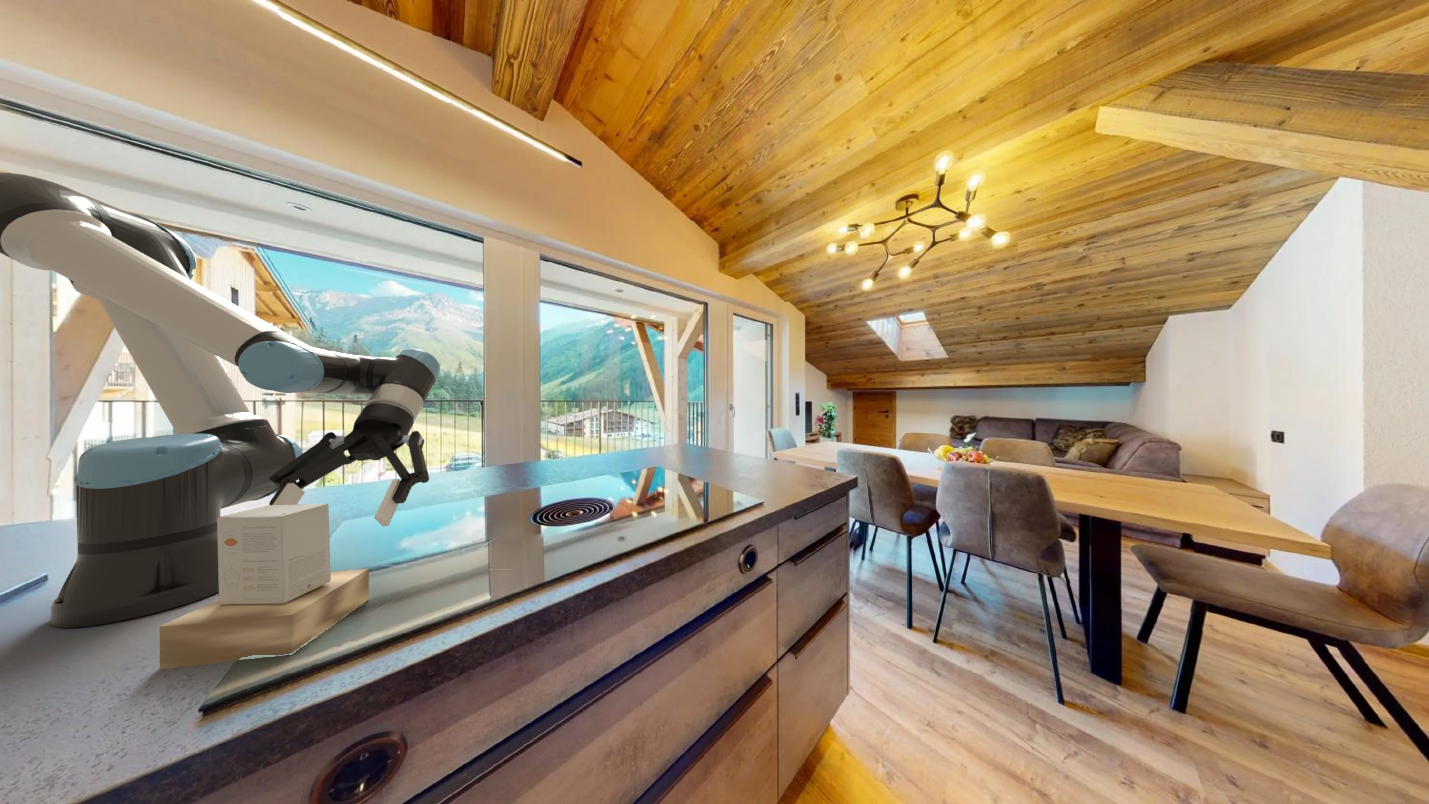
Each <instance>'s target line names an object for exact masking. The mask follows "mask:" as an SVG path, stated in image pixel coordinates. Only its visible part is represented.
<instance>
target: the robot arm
mask: <svg viewBox="0 0 1429 804" xmlns="http://www.w3.org/2000/svg"><path fill="white" fill-rule="evenodd" d="M0 254H1V255H4V256H6V257H8V258H10V259H11V260H13V261H15V262H17V263H19V264H22V265H23V266H26V267H29V268H32V269H37V270H41V271H53V272H55V273H57V274H59V275H61V276H63V277H64V278H66V279H68V280H69V282H70V284H71V286H72V287H73V289H74V290H75V291H76V292H77V293H79V294H81V295H84V296H86V297H89V298H93V299H96V300H98V302H100V303H99V304H100V305H101V307H102V308H103V309H104V311H105V314H106V315H107V317H108V319H109V320H110V322H111V324H112V325H113V328H114V329H115V330H116V332H117V334H118V335H119V337H120V339H121V341H122V342H123V344H124V346H125V348H126V349H127V351H128V353H129V354H130V356H131V358H132V360H133V361H134V363H135V365H136V366H137V369H138V370H139V371H140V373H141V375H142V377H143V378H144V380H145V382H146V384H147V385H148V387H149V389H150V391H151V392H152V394H153V395H154V397H155V399H156V401H157V402H158V404H159V406H160V408H161V409H162V411H163V412H164V414H165V416H166V418H167V419H168V421H169V423H170V425H171V427H172V428H173V430H174V433H173V434H166V435H165V434H164V435H163V434H162V435H155V436H150V437H147V436H145V437H143V436H142V437H137V438H135V437H134V438H129V439H128V438H127V439H123V440H116V441H112V442H111V441H110V442H107V443H101V444H97V445H95V446H92V447H90V448H88V449H86V450H85V451H83V453H81V455H80V456H79V458H78V466H77V472H76V473H75V477H74V484H75V487H76V488H75V489H76V490H75V492H76V494H75V495H76V497H75V498H76V499H75V501H76V535H77V536H76V537H77V539H76V540H77V541H76V542H77V558H76V561H75V564H73V566H72V568H71V570H70V572H69V574H68V576H67V577H66V579H65V581H64V582H63V585H62V586H61V589H60V591H59V593H58V596H57V597H56V599H55V600H53V603H52V605H51V607H50V625H52V626H53V627H55V628H56V627H57V628H80V627H81V628H83V627H90V626H97V625H98V626H99V625H104V624H111V623H115V622H121V621H126V620H130V619H135V618H139V617H143V616H148V615H152V614H156V613H159V612H160V613H161V612H163V611H166V610H170V609H173V608H177V607H181V606H183V605H187V604H190V603H193V602H196V601H198V600H202V599H204V598H207V597H209V596H212V595H214V594H216V593H219V578H218V537H217V518H218V517H220V516H221V510H222V509H225V508H229V507H232V506H235V505H239V504H242V503H247V502H252V501H259V500H261V499H264V498H265V497H269V496H272V495H274V496H273V497H272V498H271V499H270V501H269V505H268V506H270V505H299V504H298V503H299V502H300V500H301V499H302V498H303V497H304V496H305V495H304V494H305V491H304V490H303V489H305V487H308V486H309V485H311V484H312V483H315V482H316V481H319V479H322V478H323V477H325V476H327V475H328V474H331V473H332V472H334V471H336V470H337V469H339V468H341V467H342V466H345V465H347V466H348V465H350V464H352V463H355V462H356V461H357V462H361V461H362V462H363V461H368V460H370V461H380V460H382V459H384V458H386V459H387V460H388V462H389V464H390V465H391V466H392V468H393V470H394V471H395V472H396V474H397V475H398V476H399V478H400V479H399V478H394V479H392V481H391V482H390V484H389V487H388V488H387V490H386V493H385V494H384V496H383V499H382V500H381V503H380V504H379V507H378V509H377V511H376V513H375V515H374V517H373V518H374V520H375V521H377V522H378V523H379V524H380V525H381V526H382V527H389V526H390V523H391V522H392V520H393V517H394V515H395V512H396V511H397V510H398V509H397V508H398V506H399V504H404V503H405V502H406V500H407V499H408V497H409V494H410V492H411V490H412V487H413V486H415V485H416V484H419V483H422V484H425V483H428V482H429V481H430V475H429V471H428V467H427V464H426V460H425V455H424V452H423V447H424V444H425V439H424V438H423V436H422V435H421V433H420V431H418V430H415V431H414V430H413V431H412V432H411V429H412V428H413V425H414V424H415V423H414V422H415V421H416V419H417V417H418V415H419V414H420V412H421V409H422V408H423V406H424V403H425V400H426V399H427V397H428V396H429V393H430V391H431V390H432V388H433V387H434V385H435V384H436V381H437V378H438V376H439V373H440V369H441V367H440V366H441V365H440V362H439V360H437V358H435V356H434V355H433V354H431V353H429V352H427V351H426V350H422V349H418V348H407V349H404V350H401V351H400V352H399V353H398V354H397V355H396V356H395V357H394V358H393V357H382V356H381V357H380V356H379V357H374V356H368V355H367V356H366V355H355V354H349V353H348V354H347V353H342V352H337V351H333V350H327V349H322V348H317V347H313V346H310V345H308V344H307V343H305V342H302V341H301V340H299V339H297V338H295V337H293V336H291V335H289V334H288V333H286V332H285V331H283V330H281V329H280V328H278V327H276V326H273V325H272V324H271V323H268V322H267V321H265V320H263V319H261V318H260V317H258V316H256V315H254V314H253V313H251V312H249V311H246V310H245V309H243V308H242V307H240V306H239V305H236V304H235V303H232V302H231V301H229V300H228V299H226V298H224V297H222V296H220V295H218V294H216V293H215V292H213V291H211V290H209V289H207V288H206V287H204V286H202V285H200V284H199V283H197V282H195V281H193V280H192V279H193V277H194V275H195V273H193V271H194V270H196V269H197V258H196V255H195V253H194V251H193V250H192V248H191V246H190V245H189V244H188V243H187V242H186V241H185V240H184V239H183V238H182V237H181V236H179V235H178V234H177V233H176V232H174V231H172V230H170V229H169V228H168V227H167V228H166V227H164V226H163V225H160V224H159V223H158V222H156V221H154V220H151V219H149V218H147V217H144V216H141V215H139V214H136V213H131V212H127V211H126V210H123V209H121V208H118V207H115V206H113V205H111V204H108V203H106V202H103V201H101V200H98V199H95V198H93V197H90V196H88V195H87V194H86V195H85V194H83V193H81V192H78V191H76V190H74V189H71V188H70V187H67V186H64V185H62V184H59V183H56V182H53V181H50V180H46V179H43V178H39V177H36V176H31V175H28V174H27V175H26V174H21V173H14V172H13V173H12V172H1V171H0ZM222 360H224V361H226V362H228V363H230V364H232V365H234V366H235V367H238V370H239V372H240V374H241V375H242V377H243V378H244V380H245V381H246V382H248V383H249V384H250V385H252V386H254V387H255V388H256V387H257V388H259V389H260V390H264V391H265V390H266V391H273V392H277V393H282V394H283V393H284V394H295V393H297V394H298V393H307V394H308V393H309V394H310V393H311V394H312V393H316V394H332V395H341V394H343V395H360V396H362V395H363V396H370V397H369V399H368V400H367V402H365V403H366V404H365V406H364V407H363V408H362V410H361V412H360V413H359V414H358V416H357V418H355V421H354V424H353V429H352V431H350V433H348V434H347V435H345V436H344V435H336V433H335V432H333V431H330V432H327V433H326V434H324V435H323V436H322V438H321V439H320V440H319V441H318V442H317V443H316V444H314V445H313V446H311V447H310V448H309V449H307V450H306V451H304V452H303V450H302V448H301V447H300V445H299V444H298V443H297V442H295V441H294V440H293V439H292V438H289V437H286V436H284V435H281V434H276V432H275V431H274V429H273V427H272V426H271V424H270V422H269V420H268V419H267V418H265V417H262V416H258V415H254V414H252V413H251V412H250V410H249V409H248V406H247V405H246V403H245V401H244V400H243V398H242V396H241V394H240V392H239V390H238V389H237V386H236V385H235V383H234V382H233V379H232V378H231V376H230V375H229V372H228V371H227V368H226V367H225V365H224V363H223V361H222ZM410 432H411V433H410ZM409 433H410V434H409ZM404 445H406V446H407V447H408V449H409V454H410V458H411V462H412V466H413V472H411V473H410V472H409V471H408V469H407V468H406V466H405V465H404V464H403V462H402V461H401V459H400V458H399V456H398V455H397V454H396V450H398V449H400V448H401V447H403V446H404ZM346 451H347V452H348V454H349V455H346V454H345V452H346Z"/></svg>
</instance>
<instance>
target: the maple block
mask: <svg viewBox="0 0 1429 804" xmlns="http://www.w3.org/2000/svg"><path fill="white" fill-rule="evenodd" d="M330 573H331V581H330V582H329V583H326V584H324V585H322V586H320V587H318V588H316V589H314V590H311V591H309V592H307V593H305V594H303V595H301V596H299V597H296V598H294V599H292V600H290V601H288V602H286V603H276V604H223V605H221V604H219V598H218V599H216V600H214V601H211V602H210V603H207V604H205V605H203V606H201V607H198V608H197V609H194V610H192V611H190V612H188V613H186V614H183V615H181V616H179V617H177V618H175V619H173V620H170V621H169V622H166V623H164V624H162V625H159V670H163V669H173V668H183V667H184V668H185V667H194V666H203V665H212V664H222V663H230V662H231V663H232V662H238V661H237V660H239V659H240V658H242V657H248V656H252V655H284V654H290V653H293V652H294V651H295V650H297V649H298V648H300V647H301V646H302V645H304V644H305V643H307V642H308V641H309V640H311V639H312V638H313V637H315V636H317V635H318V634H320V633H321V632H323V631H324V630H326V629H327V628H329V627H330V626H332V625H333V624H335V623H336V622H338V621H339V620H340V619H341V618H342V617H343V616H345V615H346V614H348V613H350V612H351V611H353V609H355V608H356V607H358V606H360V605H361V604H363V603H364V602H366V601H367V600H368V599H369V600H370V569H369V568H363V569H362V568H360V569H346V570H334V571H333V570H332V571H331V570H330ZM366 603H367V602H366ZM363 605H364V604H363ZM338 623H339V622H338ZM335 625H336V624H335Z"/></svg>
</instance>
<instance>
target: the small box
mask: <svg viewBox="0 0 1429 804" xmlns="http://www.w3.org/2000/svg"><path fill="white" fill-rule="evenodd" d="M329 509H330V507H329V504H328V503H315V504H314V503H313V504H311V503H309V504H305V503H304V504H297V505H265V506H260V507H257V508H253V509H248V510H243V511H238V512H234V513H229V514H225V515H220V517H218V518H217V537H218V578H219V592H218V599H219V604H221V605H223V604H276V603H286V602H288V601H290V600H292V599H294V598H296V597H299V596H301V595H303V594H305V593H307V592H309V591H311V590H314V589H316V588H318V587H320V586H322V585H324V584H326V583H329V582H330V581H331V573H330V571H331V550H330V549H331V547H330V542H331V539H330V512H329V511H330V510H329Z"/></svg>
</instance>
